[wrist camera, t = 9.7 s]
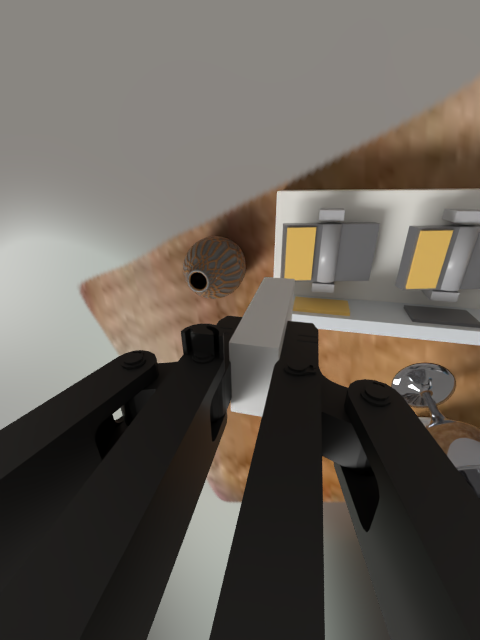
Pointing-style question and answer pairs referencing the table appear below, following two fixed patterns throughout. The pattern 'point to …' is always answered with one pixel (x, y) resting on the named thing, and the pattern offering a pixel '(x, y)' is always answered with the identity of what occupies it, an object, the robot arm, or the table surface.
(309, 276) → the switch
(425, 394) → the wine glass
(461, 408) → the table surface
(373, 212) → the switch unit
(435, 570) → the robot arm
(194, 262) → the vase
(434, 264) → the switch middle
